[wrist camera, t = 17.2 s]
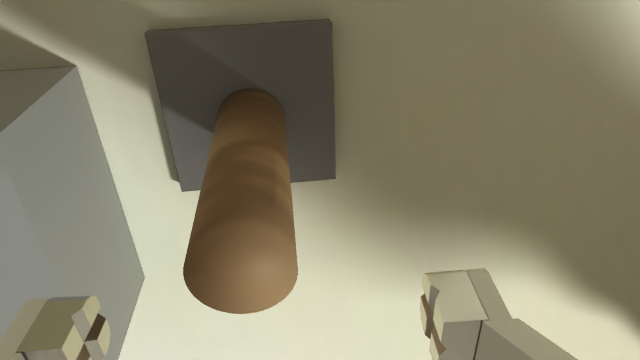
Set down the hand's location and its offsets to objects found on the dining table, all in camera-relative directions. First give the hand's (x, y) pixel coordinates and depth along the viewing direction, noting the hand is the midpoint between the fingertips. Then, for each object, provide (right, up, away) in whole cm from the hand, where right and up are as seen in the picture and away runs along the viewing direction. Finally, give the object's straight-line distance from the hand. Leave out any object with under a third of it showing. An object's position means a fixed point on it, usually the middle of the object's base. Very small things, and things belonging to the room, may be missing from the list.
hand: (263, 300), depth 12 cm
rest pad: (-2, +6, +10) cm, 12 cm away
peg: (-2, +6, +9) cm, 11 cm away
